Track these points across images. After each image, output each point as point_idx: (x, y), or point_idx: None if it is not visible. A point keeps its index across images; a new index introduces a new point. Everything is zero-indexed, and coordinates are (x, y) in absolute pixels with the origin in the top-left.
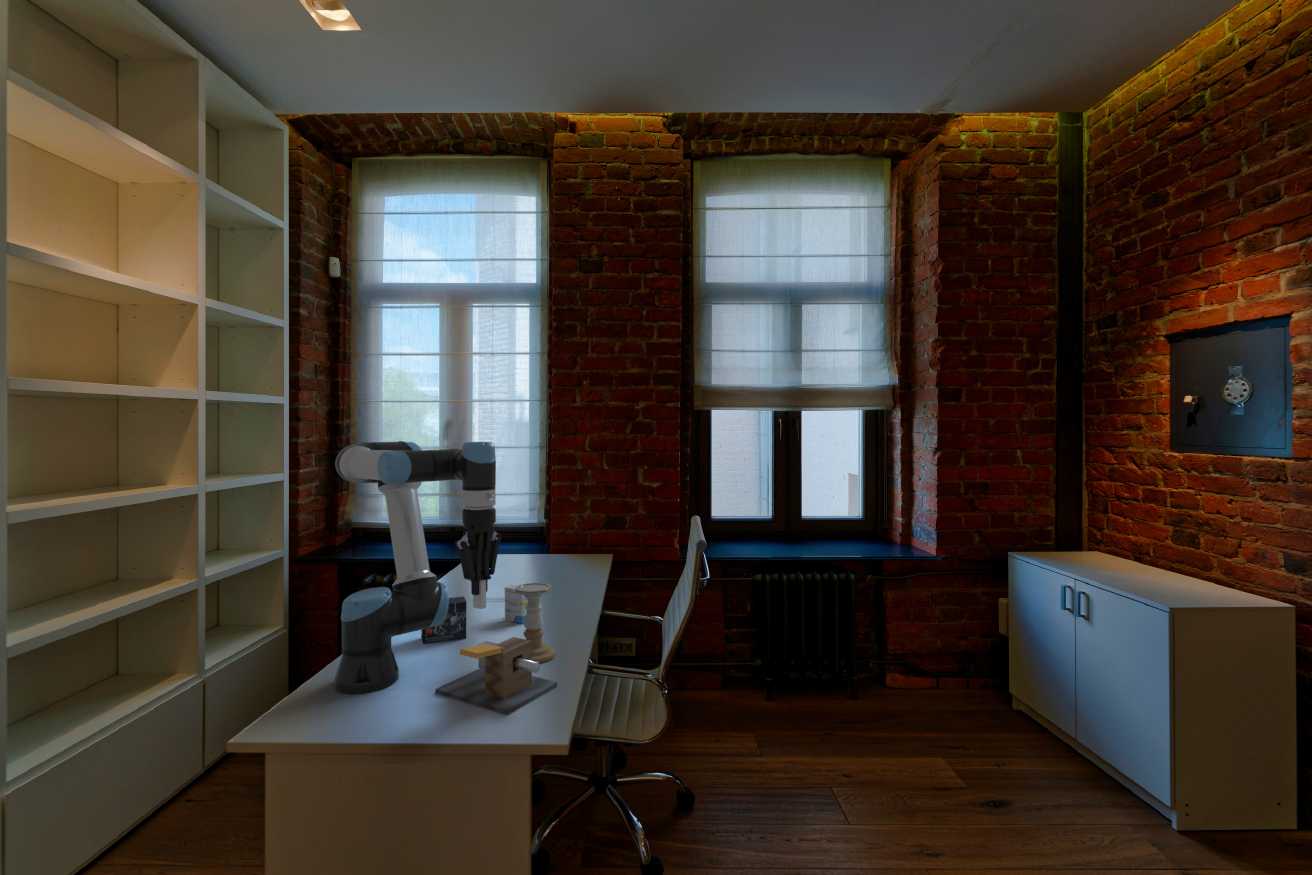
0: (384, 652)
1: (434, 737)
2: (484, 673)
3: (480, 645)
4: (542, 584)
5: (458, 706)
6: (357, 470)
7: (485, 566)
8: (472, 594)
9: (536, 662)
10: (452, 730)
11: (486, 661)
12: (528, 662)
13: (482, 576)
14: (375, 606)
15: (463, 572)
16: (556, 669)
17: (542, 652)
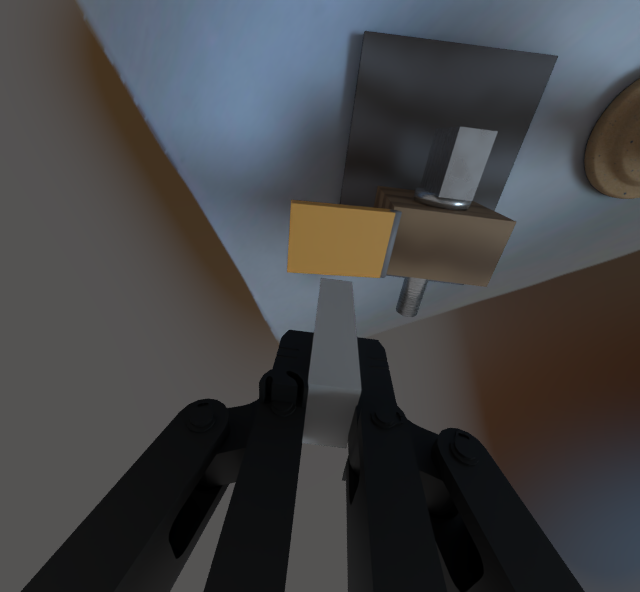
0: None
1: (216, 203)
2: (489, 96)
3: (365, 218)
4: None
5: (324, 156)
6: None
7: (348, 583)
8: (289, 332)
9: (410, 315)
10: (248, 215)
11: (387, 203)
12: (408, 299)
13: (350, 449)
14: None
15: (134, 470)
16: (548, 239)
17: (629, 181)
